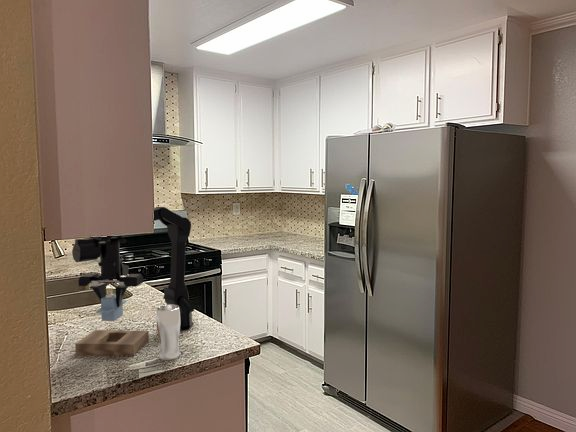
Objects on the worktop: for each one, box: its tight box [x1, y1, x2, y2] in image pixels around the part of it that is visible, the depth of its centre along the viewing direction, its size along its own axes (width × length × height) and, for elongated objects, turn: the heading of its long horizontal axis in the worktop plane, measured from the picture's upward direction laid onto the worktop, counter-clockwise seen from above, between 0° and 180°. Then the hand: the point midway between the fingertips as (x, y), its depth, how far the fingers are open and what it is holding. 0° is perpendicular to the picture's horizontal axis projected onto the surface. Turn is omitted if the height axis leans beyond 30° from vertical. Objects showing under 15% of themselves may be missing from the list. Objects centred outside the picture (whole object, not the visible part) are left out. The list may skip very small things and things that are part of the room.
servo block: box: [96, 293, 128, 322], centre depth 137 cm, size 4×12×8 cm, turn 176°
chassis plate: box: [74, 329, 150, 357], centre depth 137 cm, size 18×12×4 cm, turn 87°
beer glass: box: [155, 304, 181, 361], centre depth 130 cm, size 7×7×15 cm
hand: (112, 306), depth 137 cm, fingers closed on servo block, 4 cm apart
